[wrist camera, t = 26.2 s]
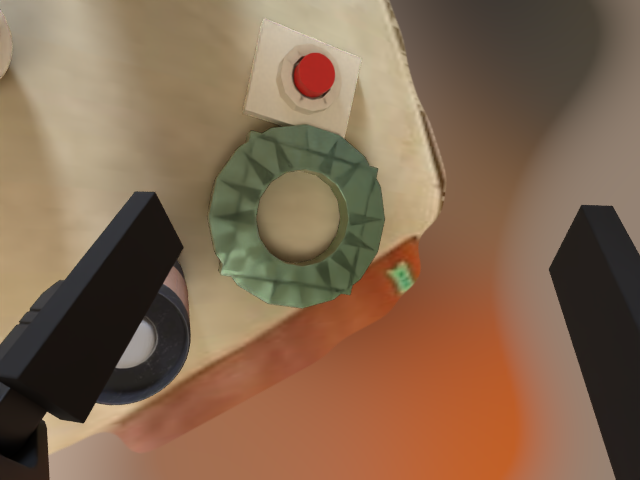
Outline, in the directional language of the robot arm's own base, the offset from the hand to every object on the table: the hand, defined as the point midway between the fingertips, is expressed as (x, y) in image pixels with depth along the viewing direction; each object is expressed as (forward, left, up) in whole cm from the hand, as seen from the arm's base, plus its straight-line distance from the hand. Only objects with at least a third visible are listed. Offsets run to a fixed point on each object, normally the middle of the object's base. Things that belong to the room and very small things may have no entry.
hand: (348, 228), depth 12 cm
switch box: (-16, +5, -33) cm, 37 cm away
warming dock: (-1, +8, -33) cm, 34 cm away
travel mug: (+9, -7, -33) cm, 35 cm away
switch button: (-16, +5, -29) cm, 34 cm away
